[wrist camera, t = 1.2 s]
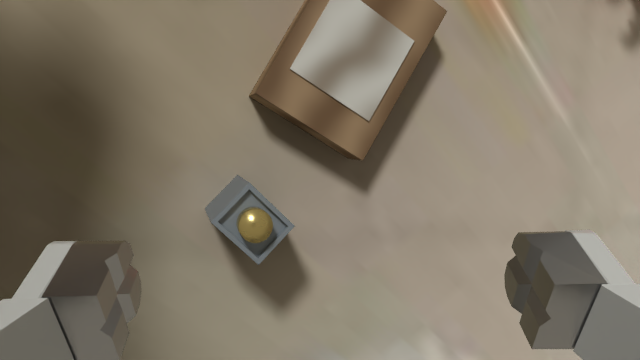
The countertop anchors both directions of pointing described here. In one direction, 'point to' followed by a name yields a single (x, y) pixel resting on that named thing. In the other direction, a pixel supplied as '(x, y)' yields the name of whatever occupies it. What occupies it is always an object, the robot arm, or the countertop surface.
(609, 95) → the countertop surface
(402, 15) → the dock
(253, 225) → the ball
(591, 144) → the countertop surface
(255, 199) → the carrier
